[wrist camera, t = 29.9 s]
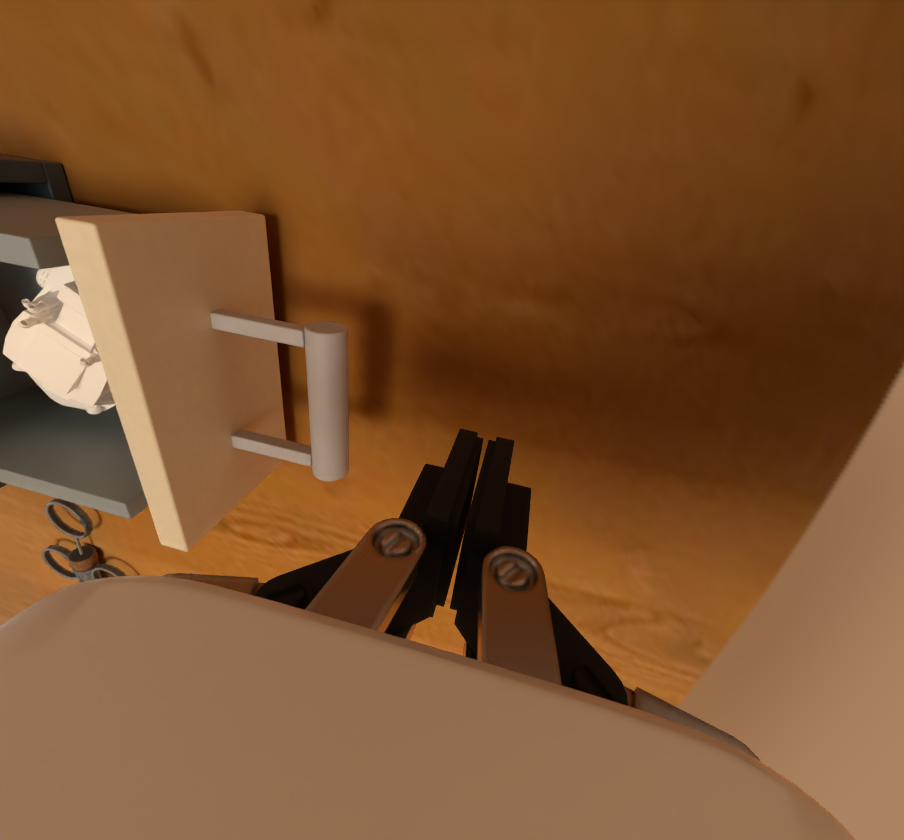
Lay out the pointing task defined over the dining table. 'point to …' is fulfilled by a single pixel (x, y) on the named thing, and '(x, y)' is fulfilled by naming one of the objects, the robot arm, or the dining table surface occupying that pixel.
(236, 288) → the drawer
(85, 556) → the syringe
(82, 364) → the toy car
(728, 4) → the dining table surface
